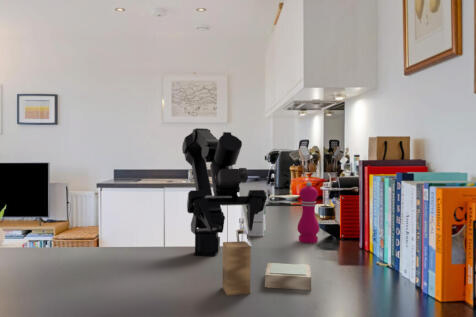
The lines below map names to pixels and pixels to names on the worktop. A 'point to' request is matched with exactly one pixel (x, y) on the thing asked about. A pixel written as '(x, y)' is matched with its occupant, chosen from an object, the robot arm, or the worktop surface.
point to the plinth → (288, 276)
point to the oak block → (236, 267)
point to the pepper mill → (308, 215)
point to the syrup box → (259, 224)
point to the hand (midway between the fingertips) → (231, 230)
